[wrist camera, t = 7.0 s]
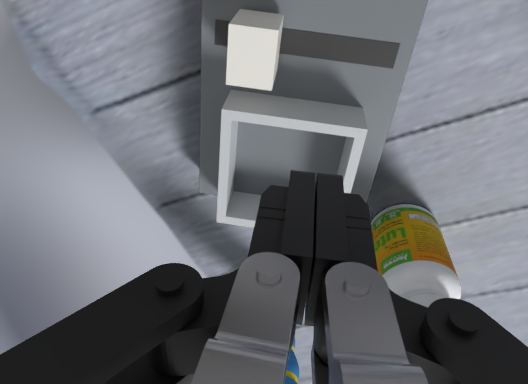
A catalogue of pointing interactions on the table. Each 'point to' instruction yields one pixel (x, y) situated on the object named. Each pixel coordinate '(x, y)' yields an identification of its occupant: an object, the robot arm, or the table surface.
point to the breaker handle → (253, 49)
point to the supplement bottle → (413, 255)
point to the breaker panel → (303, 98)
